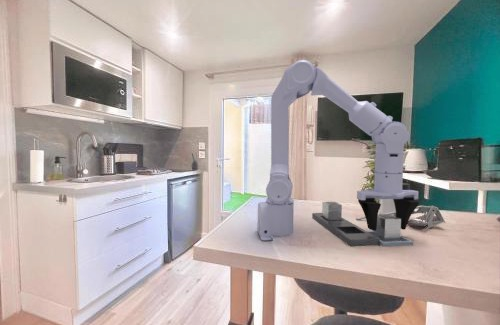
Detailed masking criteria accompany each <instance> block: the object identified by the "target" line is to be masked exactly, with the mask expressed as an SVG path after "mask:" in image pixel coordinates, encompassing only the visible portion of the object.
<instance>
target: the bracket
mask: <svg viewBox="0 0 500 325" xmlns="http://www.w3.org/2000/svg"><path fill="white" fill-rule="evenodd" d="M386 214H390V215H391V214H394V215H393V216H395V217H396V211H395V212H390V213H386ZM415 214H423V216H422V218H421V221H420V223H421V222H425V223H423V225H424V224H428V226H426V227H427V228H426V229H431V228H433V227H435V226H438V225H440V224H442V223H443V224H444V223H445V224H446V221H445V219H444V217H443V216H442V213H441V211H440V209H439V208H438V207H437V206H434V205H428V206H427V205H418V206H417V207H416V210H414V211H413V213H412V214H411V215H415ZM434 216H435V217H436V218H434ZM355 219H356V221H359V220H363V219H365V220H366V217H365V216H360V217H356V218H355ZM426 222H428V223H426Z"/></svg>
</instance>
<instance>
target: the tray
mask: <svg viewBox="0 0 500 325" xmlns="http://www.w3.org/2000/svg"><path fill="white" fill-rule="evenodd" d="M366 231H367V232H369V233H370V234H372V235H373V230H366ZM378 246H381V247H403V246H404V247H406V246H414V241H413V240H411V239H409V238H406V237H404V236H402V235H400V241H390V242H383V241H381V240H379V245H378Z"/></svg>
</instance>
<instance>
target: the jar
mask: <svg viewBox="0 0 500 325" xmlns="http://www.w3.org/2000/svg"><path fill="white" fill-rule="evenodd" d="M410 185H411V184H410V183H407V182H402V190H411V189H410V188H411V186H410ZM383 197H388V196H383ZM379 203H380V204H381V206H380V208H379V212H378V214H386V213H390V212H395V211H396V209H395V204H394V200H393V199H379ZM391 215H392V216H393V215H394V214H391ZM409 220H410V221H411V217H410V218H409Z"/></svg>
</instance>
